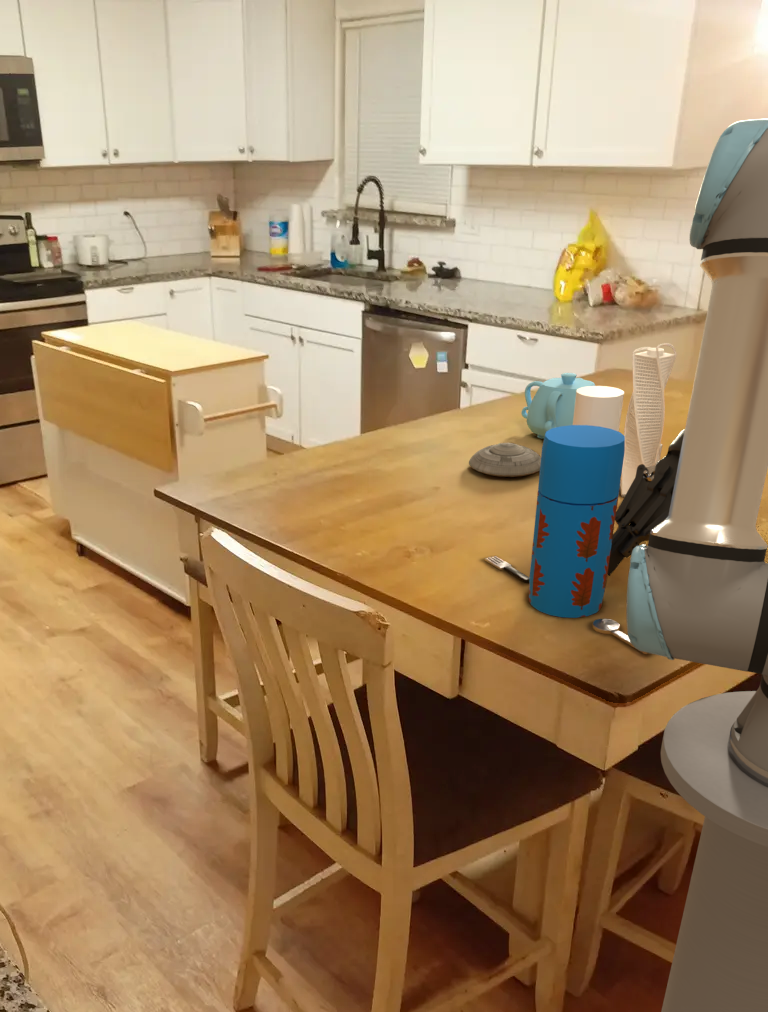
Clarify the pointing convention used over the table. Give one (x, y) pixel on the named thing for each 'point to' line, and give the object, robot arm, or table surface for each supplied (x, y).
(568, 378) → the decorative pot
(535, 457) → the flying saucer
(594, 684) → the table surface
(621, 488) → the skyscraper
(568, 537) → the thermos
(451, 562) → the table surface
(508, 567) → the fork
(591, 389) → the cylindrical container
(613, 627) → the metal disc paddle
